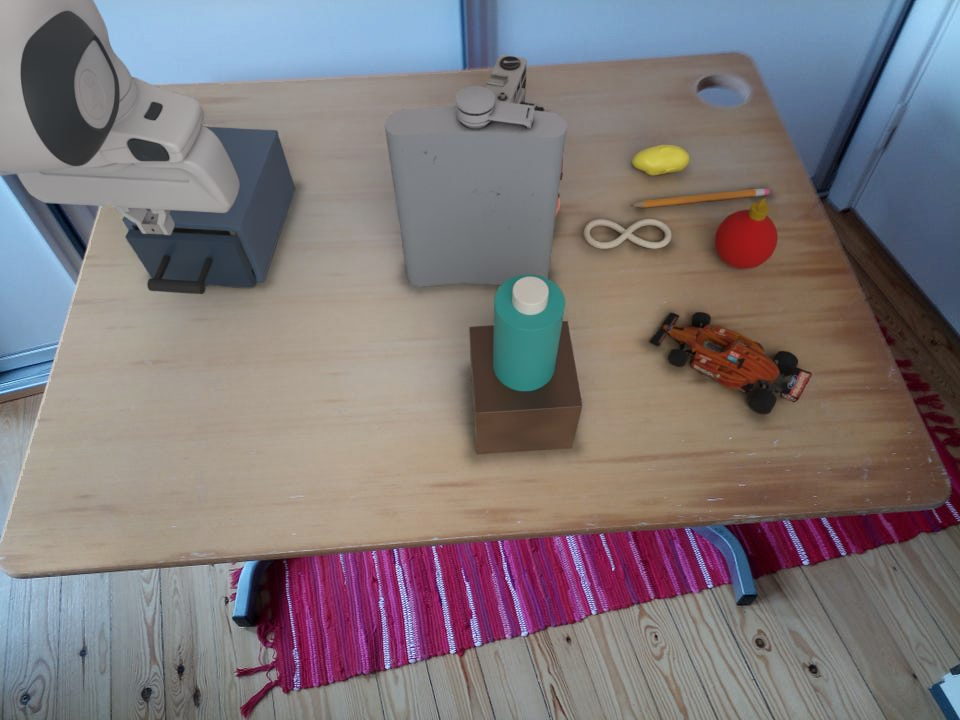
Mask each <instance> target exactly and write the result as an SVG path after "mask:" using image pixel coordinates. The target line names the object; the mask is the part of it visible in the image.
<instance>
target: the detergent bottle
mask: <svg viewBox="0 0 960 720" xmlns="http://www.w3.org/2000/svg"><path fill="white" fill-rule="evenodd" d="M493 299H494V301H493V325H494V340H493V369H494V372H495V375H496V376H497V378H498V379H499V380H500V381H501V382H502V383H503V384H504V385H505V386H507V387H509V388H511V389H514V390H517V391H532V390H536V389H539V388H541V387H542V386H544V385H545V384H547V383H548V382H549V381H550V379H551V378H552V376H553V374H554V370H555V364H556V358H557V352H558V346H559V340H560V334H561V327H562V321H564V314H565V308H566V299H565V295H564V294H563V291H562V289H561V288H560V287H559V285H557V284H556V283H555V282H554V281H552V280H551V279H549V278H548V279H547V278H545V277H542V276H538V275H531V274H526V275H519V276H515V277H512V278H510V279H508V280H507V281H505V282H504V283H503V284H502V285H499V287H498V288H497V290H496V292H495V296H494V298H493Z"/></svg>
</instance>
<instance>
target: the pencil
mask: <svg viewBox="0 0 960 720" xmlns="http://www.w3.org/2000/svg"><path fill="white" fill-rule="evenodd" d="M770 193H771V190H770V188H769V187H767V188H766V187H765V188H762V187H761V188H753V189H743V190H733V191H723V192H714V193H704V194H694V195H686V196H685V195H684V196H676V197H665V198H657V199H646V200H645V199H644V200H642V201H639V202H635V203H634V204H630V205H629V206H630V207H635V208H641V209H646V208H657V207H666V206H676V205H677V206H678V205H685V204H687V205H688V204H695V203H705V202H716V201H724V200H733V199H734V200H735V199H745V198H754V197H762V196H769V195H770Z"/></svg>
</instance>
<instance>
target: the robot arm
mask: <svg viewBox="0 0 960 720" xmlns="http://www.w3.org/2000/svg"><path fill="white" fill-rule="evenodd" d="M204 119H205V112H204V109H203V106H202V105H201V102H199V100H197V99H195V98H193V97H191V96H187V95H185V94H181V93H178V92H174V91H171V90H168V89H166V88H162V87H159V86H157V85H154V84H152V83H149V82H147V81H145V80H143V79H141V78H138V77H136V76H135V77H134V76H132V74H131V72H130V70H129V69H128V67H127V65H126V64H125V63H124V62H123V60H122V59H121V58H120V57H119V56H118V55H117V54H116V52H115V51H114V50H113V47H112V45H111V42H110V37H109V31H108V27H107V25H106V23H105V21H104V18H103V16H102V14H101V13H100V10H99V8H98V7H97V5H96V3H95V1H94V0H0V176H12V175H16V176H17V177H18V179H19V180H20V182H21V184H22V185H23V187H24V188H25V190H26V191H27V192H28V194H29V195H30V196H32V197H33V198H35V199H36V200H38V201H40V202H41V203H45V204H59V205H76V206H94V207H109V208H110V207H111V208H114V209H115V211H116V212H117V213H118V214H120V215H122V216H123V217H126V218H127V219H129V220H131V221H132V222H134V223H136V224H137V226H138V228H139V229H140V231H141V232H142V233H143V234H160V235H171V234H172V231H173V229H174V226H175V224H174V221H173V219H172V217H171V215H170V210H179V211H197V212H214V213H226V212H228V211H229V210H230V208H231V207H232V205H233V204H234V202H235V200H236V197H237V195H238V192H239V186H240V183H239V179H238V176H237V173H236V171H235V169H234V166H233V164H232V162H231V160H230V158H229V156H228V154H227V152H226V150H225V148H224V147H223V145H222V143H221V142H220V140H219V139H218V137H217V136H216V135H215V134H214V133H213V132H212V131H211V130H210V129H208V128H206V127H207V126H205V125H203V122H204ZM146 209H150V210H151V211H147V210H146Z"/></svg>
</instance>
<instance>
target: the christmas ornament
mask: <svg viewBox="0 0 960 720" xmlns="http://www.w3.org/2000/svg"><path fill="white" fill-rule="evenodd" d="M767 201H768V199H767V198H766V197H763V198H762V199H761V200H760V201H756V202H753V203H752V204H751V205H750V208H749V209H742V210H737V211H735V212H733V213H731V214H729V215H728V216H726V217H725V218H724V219H723V220H722V221H721V223H720V224H719V226H718V227H717V229H716V232H715V234H714V235H715V236H714V246H715V249H716V250H715V251H716V253H717V255H718V256H719V258H720V259H721V260H722V261H723V262H724V263H725V264H727V265H728V266H730V267H732V268H735V269H739V270H747V269H748V270H749V269H754V268H756V267H759V266H761V265H762V264H764V263H766V262H767V261H768V260H769V259H770V258H771V257H772V256H773V254H774V252H775V250H776V248H777V245H778V239H779V238H778V229H777V227H776V225H775V223H774V222H773V220H772V219H771V217H769V216H768V214H769V212H770V207H769V206H768V205H767V204H766V203H767Z"/></svg>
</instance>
